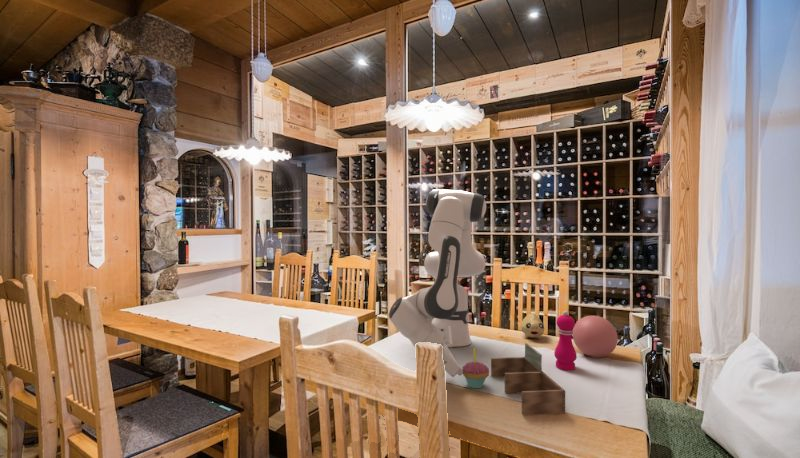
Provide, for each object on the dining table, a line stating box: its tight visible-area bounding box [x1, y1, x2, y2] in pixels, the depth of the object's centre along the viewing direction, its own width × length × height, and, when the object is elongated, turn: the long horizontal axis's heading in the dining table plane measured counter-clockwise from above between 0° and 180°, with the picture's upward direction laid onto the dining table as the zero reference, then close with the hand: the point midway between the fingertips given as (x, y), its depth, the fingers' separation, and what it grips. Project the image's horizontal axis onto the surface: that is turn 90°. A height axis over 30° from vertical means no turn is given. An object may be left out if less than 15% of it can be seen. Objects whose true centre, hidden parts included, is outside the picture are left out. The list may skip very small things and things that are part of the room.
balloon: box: [572, 315, 619, 358], centre depth 152 cm, size 15×20×15 cm
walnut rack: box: [490, 343, 566, 416], centre depth 118 cm, size 12×26×11 cm, turn 5°
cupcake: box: [461, 345, 490, 389], centre depth 123 cm, size 9×8×12 cm
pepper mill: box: [554, 310, 577, 372], centre depth 138 cm, size 7×7×20 cm
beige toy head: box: [520, 313, 545, 340], centre depth 173 cm, size 10×12×11 cm
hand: (460, 372), depth 123 cm, fingers closed, pressing on cupcake
